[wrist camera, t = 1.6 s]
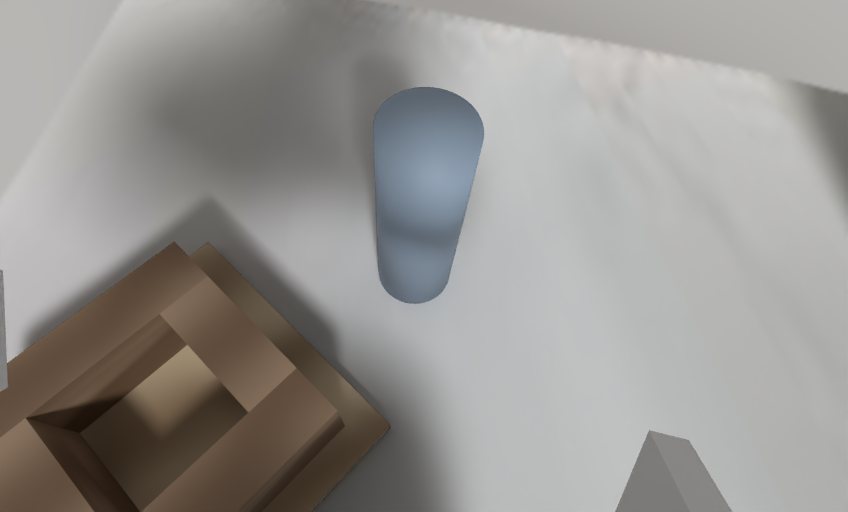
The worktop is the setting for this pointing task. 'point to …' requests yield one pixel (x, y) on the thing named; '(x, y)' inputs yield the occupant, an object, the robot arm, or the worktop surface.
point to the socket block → (177, 403)
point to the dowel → (422, 187)
